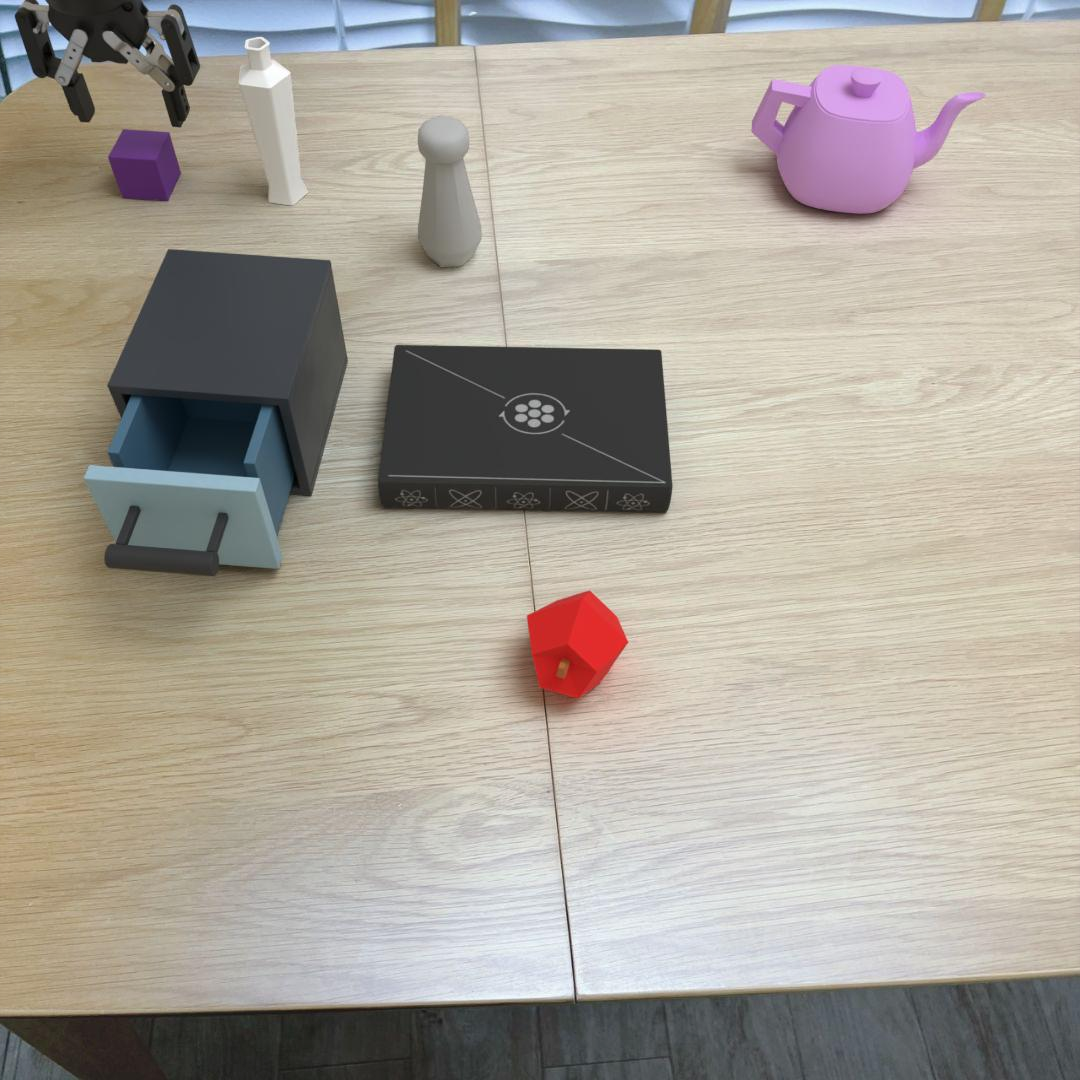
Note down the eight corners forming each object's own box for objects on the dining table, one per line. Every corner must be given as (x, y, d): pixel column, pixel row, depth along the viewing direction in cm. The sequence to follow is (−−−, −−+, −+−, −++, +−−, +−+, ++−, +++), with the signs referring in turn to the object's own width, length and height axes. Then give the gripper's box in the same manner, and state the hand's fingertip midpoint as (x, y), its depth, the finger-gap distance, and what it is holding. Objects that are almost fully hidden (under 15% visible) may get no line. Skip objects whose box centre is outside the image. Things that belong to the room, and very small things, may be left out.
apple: (556, 550, 74) (523, 616, 67) (648, 591, 73) (624, 662, 67) (525, 623, 78) (491, 693, 71) (613, 663, 77) (586, 737, 71)
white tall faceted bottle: (252, 192, 105) (217, 42, 93) (290, 174, 107) (261, 24, 95) (279, 215, 103) (247, 64, 91) (317, 196, 105) (291, 46, 93)
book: (380, 511, 82) (376, 485, 80) (397, 370, 91) (394, 344, 89) (668, 516, 82) (673, 490, 80) (657, 375, 91) (661, 349, 89)
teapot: (950, 236, 103) (992, 130, 94) (737, 208, 105) (758, 102, 96) (946, 153, 110) (983, 48, 102) (748, 129, 112) (768, 24, 103)
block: (121, 198, 104) (107, 156, 101) (136, 169, 107) (122, 128, 103) (168, 201, 104) (155, 160, 100) (181, 173, 107) (169, 131, 103)
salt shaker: (495, 248, 101) (492, 121, 90) (457, 282, 98) (450, 155, 87) (444, 225, 102) (436, 97, 92) (406, 257, 100) (393, 130, 89)
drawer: (263, 626, 75) (236, 551, 68) (100, 613, 75) (57, 537, 68) (318, 429, 86) (300, 346, 79) (175, 418, 86) (144, 335, 79)
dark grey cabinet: (311, 496, 83) (288, 398, 74) (148, 483, 83) (106, 385, 75) (348, 361, 92) (330, 259, 83) (200, 350, 92) (167, 248, 84)
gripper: (174, -82, 89) (220, 101, 102) (3, -90, 89) (71, 92, 102) (147, -36, 84) (199, 148, 97) (-33, -45, 85) (43, 140, 98)
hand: (133, 119), depth 100 cm, fingers open, 8 cm apart
